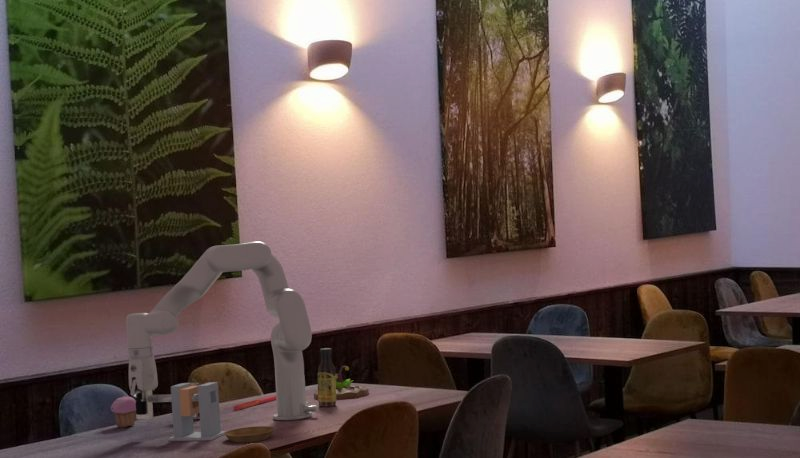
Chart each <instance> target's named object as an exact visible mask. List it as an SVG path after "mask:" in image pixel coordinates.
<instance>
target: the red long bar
mask: <svg viewBox="0 0 800 458" xmlns="http://www.w3.org/2000/svg"><path fill="white" fill-rule="evenodd" d="M273 401H277V397H276V395H275V394H273V395H268V396H264V397H261V398H257V399H253V400H250V401H246V402H242V403H239V404H236V405H233V406H232V409H233V410H234V411H240V410H243V409H247V408H251V407H254V406H258V405H261V404H265V403H268V402H273Z"/></svg>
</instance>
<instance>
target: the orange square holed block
mask: <svg viewBox="0 0 800 458" xmlns="http://www.w3.org/2000/svg"><path fill="white" fill-rule="evenodd" d="M179 393H180V409H181V416H192V415H195V414H197V413H200V412H199V401H192V395H193V394H198V386H189V387H186V388H183V389H180V390H179Z"/></svg>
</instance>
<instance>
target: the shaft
mask: <svg viewBox="0 0 800 458" xmlns="http://www.w3.org/2000/svg"><path fill="white" fill-rule="evenodd" d="M137 391H141V390H138V389H137ZM138 394H140V395H141V393H138ZM144 401H146V414H145V415H137V414H136V420H150V419H152V418H154V409H153V408H154V407H153V403H172V399H171V394H152V389H151V390H148V391H144ZM192 401H199V395H198V394H193V395H192Z"/></svg>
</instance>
